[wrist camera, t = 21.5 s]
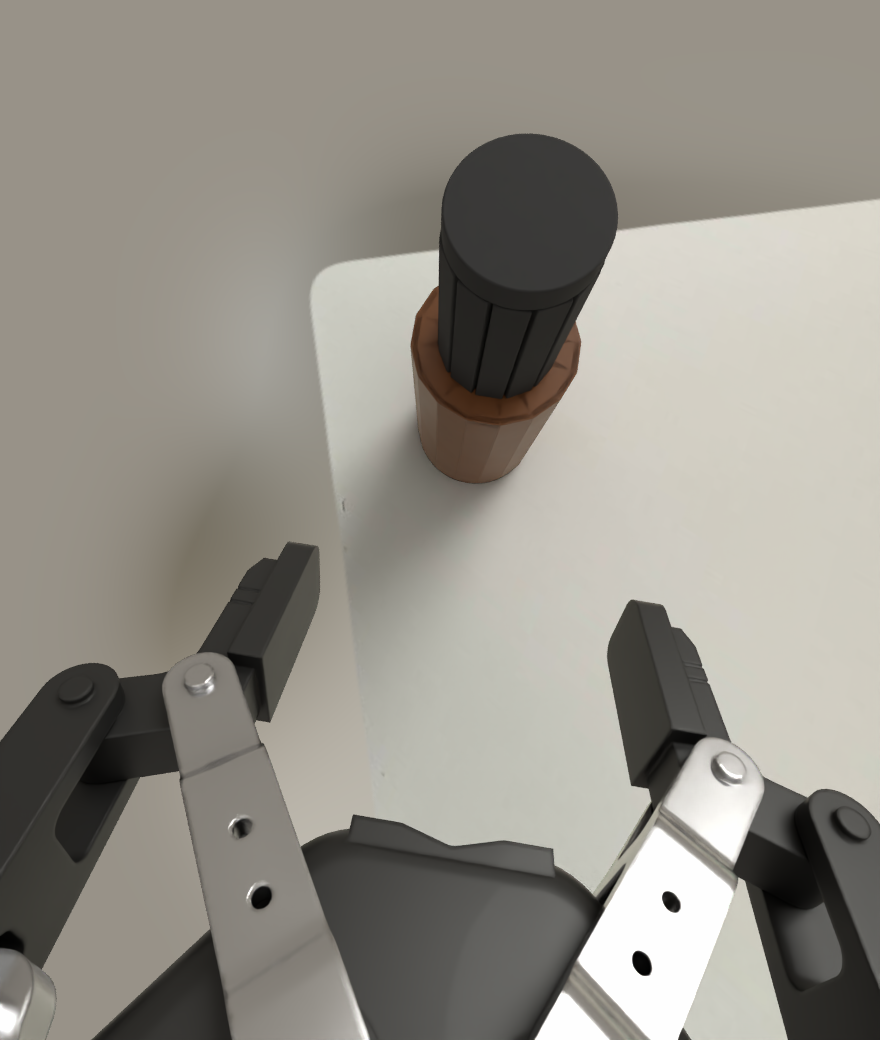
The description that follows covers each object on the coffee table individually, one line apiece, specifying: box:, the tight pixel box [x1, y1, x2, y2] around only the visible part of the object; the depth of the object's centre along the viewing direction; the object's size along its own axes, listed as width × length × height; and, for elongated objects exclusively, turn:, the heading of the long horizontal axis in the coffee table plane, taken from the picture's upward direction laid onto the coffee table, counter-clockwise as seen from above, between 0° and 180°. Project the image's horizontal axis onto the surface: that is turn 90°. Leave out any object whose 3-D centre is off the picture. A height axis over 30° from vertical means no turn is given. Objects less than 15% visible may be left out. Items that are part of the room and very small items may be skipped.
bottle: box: [411, 286, 581, 483], centre depth 26 cm, size 8×8×18 cm
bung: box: [438, 134, 618, 399], centre depth 19 cm, size 5×5×8 cm
